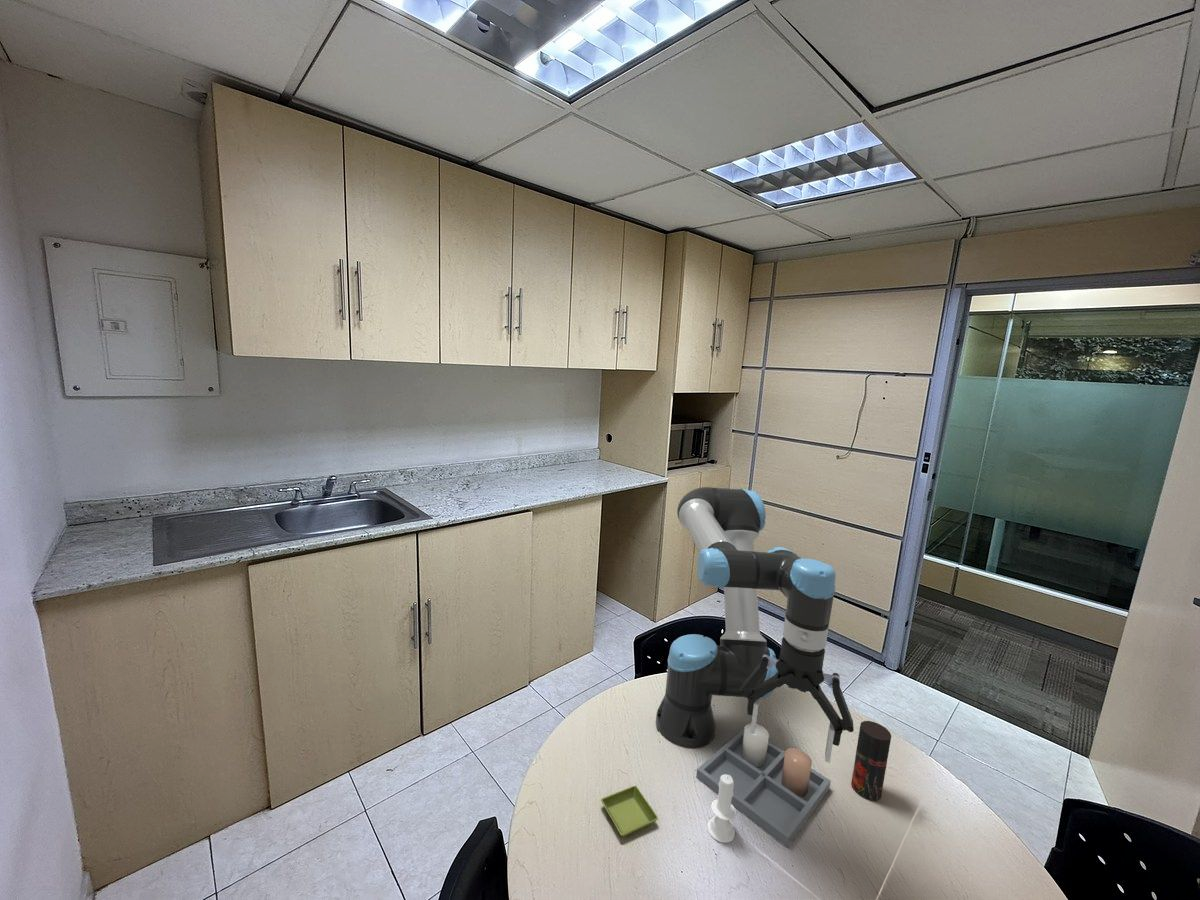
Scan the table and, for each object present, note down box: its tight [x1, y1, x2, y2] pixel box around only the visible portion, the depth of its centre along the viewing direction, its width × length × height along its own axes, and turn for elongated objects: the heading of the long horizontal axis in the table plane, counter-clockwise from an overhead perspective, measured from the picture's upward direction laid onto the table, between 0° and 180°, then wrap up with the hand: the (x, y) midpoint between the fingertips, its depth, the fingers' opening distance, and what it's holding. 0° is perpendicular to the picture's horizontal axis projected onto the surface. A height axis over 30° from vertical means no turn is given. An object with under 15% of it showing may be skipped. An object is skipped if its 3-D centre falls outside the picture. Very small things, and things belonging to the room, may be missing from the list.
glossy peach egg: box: [781, 747, 813, 797], centre depth 104 cm, size 6×6×7 cm
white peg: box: [706, 774, 737, 844], centre depth 92 cm, size 5×5×12 cm
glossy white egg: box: [741, 723, 770, 768], centre depth 111 cm, size 6×6×7 cm
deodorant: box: [850, 720, 892, 802], centre depth 104 cm, size 6×6×15 cm
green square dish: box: [600, 785, 659, 837], centre depth 95 cm, size 9×9×2 cm
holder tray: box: [695, 727, 832, 848], centre depth 105 cm, size 21×21×2 cm
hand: (789, 743), depth 92 cm, fingers open, 13 cm apart
